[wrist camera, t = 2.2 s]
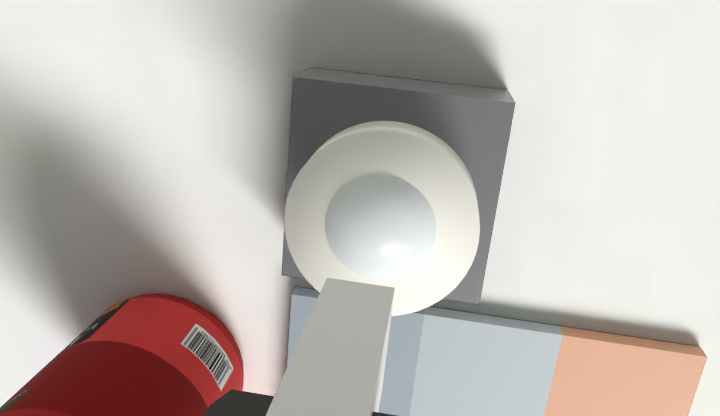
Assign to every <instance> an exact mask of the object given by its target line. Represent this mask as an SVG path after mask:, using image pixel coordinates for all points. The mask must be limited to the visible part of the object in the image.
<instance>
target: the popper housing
mask: <svg viewBox="0 0 720 416" xmlns="http://www.w3.org/2000/svg"><path fill="white" fill-rule="evenodd" d="M514 108H515V101H514V100H513V98H512V96H511V95H510V93H509V91H508V90H502V89H493V88H485V87H476V86H467V85H458V84H450V83H441V82H432V81H424V80H415V79H406V78H397V77H389V76H380V75H371V74H363V73H354V72H345V71H337V70H328V69H319V68H308V69H307V70H305V71H303V72H301V73H299V74H297V75H296V76H294V77H293V87H292V104H291V121H290V138H289V155H288V173H287V190H286V201H287V197H288V194H289V191H290V188H291V186H292V184H293V181H294V180H295V178H296V176H297V175H298V173H299V172H300V170H301V169H302V168H303V166H304V165H305V164H306V163H307V162H308V160H309V159H310V158H311V157H312V156H313V154H314V153H315V152H316V151H317V150H318V148H319V147H321V146H322V145H323V144H324V143H325V142H326V141H327V140H328V139H330V138H331V137H333V136H334V135H336V134H337V133H339V132H341V131H343V130H345V129H347V128H349V127H352V126H355V125H358V124H362V123H366V122H372V121H397V122H402V123H407V124H411V125H414V126H417V127H420V128H422V129H424V130H426V131H428V132H430V133H432V134H434V135H435V136H437V137H438V138H440V139H441V140H443V141H444V142H445V143H446V144H447V145H448V146H450V147H451V148H452V149H453V150H454V152H455V153H456V154H457V155H458V156H459V157H460V159H461V160H462V162H463V163H464V165H465V166H466V168H467V170H468V172H469V174H470V176H471V178H472V181H473V184H474V187H475V191H476V196H477V203H478V210H479V218H480V235H479V244H478V248H477V252H476V255H475V258H474V260H473V263H472V265H471V267H470V269H469V270H468V272H467V274H466V276H465V277H464V278H463V279H462V281H461V282H460V283H459V285H458V286H457V287H456V288H455V289H454V290H453V291H452V292H451V293H449V294H448V295H447V296H445V297H444V298H443V299H447V300H453V301H460V302H467V303H474V304H479V303H480V297H481V292H482V286H483V281H484V275H485V270H486V264H487V258H488V253H489V247H490V242H491V236H492V230H493V225H494V219H495V214H496V208H497V202H498V197H499V191H500V186H501V180H502V175H503V169H504V163H505V158H506V152H507V147H508V141H509V135H510V130H511V124H512V119H513V113H514ZM282 275H284V276H291V277H298V278H304V279H305V277H304V276H303V275H302V273H301V272H300V270H299V269H298V267H297V265H296V264H295V262H294V260H293V258H292V255H291V253H290V251H289V247H288V244H287V240H286V235H285V228H284V241H283V259H282Z"/></svg>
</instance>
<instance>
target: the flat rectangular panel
mask: <svg viewBox="0 0 720 416" xmlns="http://www.w3.org/2000/svg"><path fill="white" fill-rule="evenodd" d="M319 294H320V292H318V291H317V290H315V289H308V288H301V287H295V289H294V291H293V293H292V294H291V310H290V325H289V341H288V356H287V366H288V364H289V362H290V360H291V357H292V355H293V353H294V351H295V348H296V346H297V344H298V342H299V339H300V337H301V335H302V333H303V330H304V328H305V326H306V324H307V321H308V319H309V317H310V314H311V312H312V310H313V308H314V305H315V303H316V301H317V299H318V296H319ZM706 359H707V356H706V355H705V353H704V352H703V350H702V349H701V347H697V346H690V345H684V344H677V343H670V342H663V341H657V340H650V339H643V338H637V337H630V336H623V335H616V334H610V333H603V332H596V331H590V330H583V329H576V328H570V327H563V326H556V325H549V324H543V323H536V322H529V321H523V320H516V319H509V318H503V317H496V316H489V315H482V314H476V313H469V312H462V311H456V310H449V309H442V308H436V307H427V308H425V309H422V310H420V311H417V312H413V313H409V314H405V315H398V316H391V323H390V331H389V339H388V347H387V355H386V363H385V371H384V379H383V387H382V394H381V400H380V405H379V411H378V412H379V413H385V414H391V415H397V416H688V414H689V411H690V408H691V405H692V402H693V399H694V396H695V393H696V390H697V387H698V384H699V381H700V378H701V374H702V371H703V368H704V365H705V362H706Z"/></svg>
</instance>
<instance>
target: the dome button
mask: <svg viewBox="0 0 720 416" xmlns="http://www.w3.org/2000/svg"><path fill="white" fill-rule="evenodd" d="M284 228H285V235H286V240H287V244H288V247H289V251H290V253H291V255H292V258H293V260H294V262H295V264H296V265H297V267H298V269H299V270H300V272H301V273H302V275H303V276H304V277H305V279H306V280H307V281H308V282H309V283H310V284H311V285H312V286H313V287H314V288H315V289H316V290H317V291H318V292H321V290H322V287H323V285H324V283H325V281H326V278H333V279H340V280H347V281H353V282H360V283H367V284H373V285H380V286H387V287H393V288H395V292H394V300H393V308H392V316H398V315H405V314H409V313H413V312H417V311H420V310H422V309H425V308H427V307H430V306H431V305H433V304H435V303H437V302H438V301H440V300H441V299H443V298H444V297H445V296H447V295H448V294H449V293H451V292H452V291H453V290H454V289H455V288H456V287H457V286H458V285H459V283H460V282H461V281H462V279H463V278H464V277H465V276H466V274H467V272H468V270H469V269H470V267H471V265H472V263H473V260H474V258H475V255H476V252H477V248H478V244H479V235H480V218H479V210H478V203H477V196H476V191H475V187H474V184H473V181H472V178H471V176H470V174H469V172H468V170H467V168H466V166H465V165H464V163H463V162H462V160H461V159H460V157H459V156H458V155H457V154H456V153H455V152H454V150H453V149H452V148H451V147H450V146H448V145H447V144H446V143H445V142H444V141H443V140H441V139H440V138H438V137H437V136H435V135H434V134H432V133H430V132H428V131H426V130H424V129H422V128H420V127H417V126H414V125H411V124H407V123H402V122H397V121H372V122H366V123H362V124H358V125H355V126H352V127H349V128H347V129H345V130H343V131H341V132H339V133H337V134H336V135H334V136H333V137H331V138H330V139H328V140H327V141H326V142H325V143H324V144H323V145H322V146H321V147H319V148H318V150H317V151H316V152H315V153H314V154H313V156H312V157H311V158H310V159H309V160H308V162H307V163H306V164H305V165H304V166H303V168H302V169H301V170H300V172H299V173H298V175H297V176H296V178H295V180H294V181H293V184H292V186H291V188H290V191H289V194H288V197H287V201H286V206H285V213H284Z"/></svg>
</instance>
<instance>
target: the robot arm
mask: <svg viewBox="0 0 720 416" xmlns="http://www.w3.org/2000/svg"><path fill="white" fill-rule="evenodd" d="M394 292H395V288H393V287H387V286H380V285H373V284H367V283H360V282H353V281H347V280H340V279H333V278H326V281H325V283H324V285H323V287H322V290H321V292H320V294H319V296H318V299H317V301H316V303H315V305H314V308H313V310H312V312H311V314H310V317H309V319H308V321H307V324H306V326H305V328H304V330H303V333H302V335H301V337H300V339H299V342H298V344H297V346H296V348H295V351H294V353H293V355H292V357H291V360H290V362H289V364H288V366H287V369H286V371H285V373H284V375H283V378H282V380H281V382H280V384H279V387H278V389H277V391H276V393H275V396H268V395H262V394H256V393H250V392H244V391H239V390H233V389H231V390H230V391H228V392H227V393H226V394H224V395H223V396H222V397H220V398H219V399H218V400H216V401H215V402H213V403H212V404H211V405H209V407H208V409H207V410H206V412H205V414H204V416H397V415H391V414H385V413H379V412H378V411H379V405H380V400H381V394H382V387H383V379H384V371H385V363H386V355H387V347H388V339H389V331H390V323H391V316H392V308H393V300H394Z"/></svg>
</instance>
